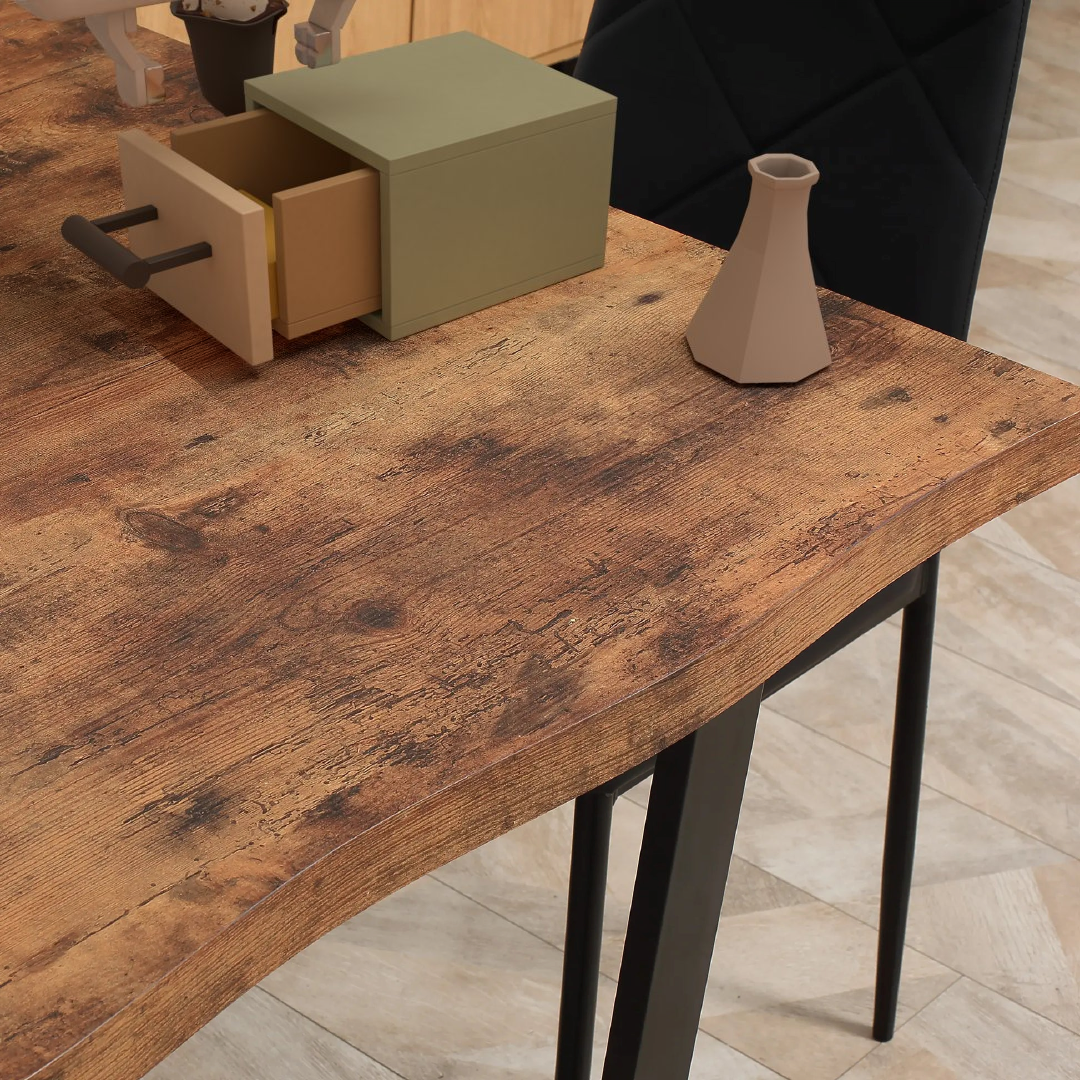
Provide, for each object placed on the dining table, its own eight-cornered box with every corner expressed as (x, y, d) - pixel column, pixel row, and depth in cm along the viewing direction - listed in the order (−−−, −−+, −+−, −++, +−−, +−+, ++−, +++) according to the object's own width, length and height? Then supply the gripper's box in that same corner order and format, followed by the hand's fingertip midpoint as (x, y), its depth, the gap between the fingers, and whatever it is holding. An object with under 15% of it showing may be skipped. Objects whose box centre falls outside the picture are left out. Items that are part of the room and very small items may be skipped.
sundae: (267, 201, 90) (251, -65, 81) (165, 181, 92) (138, -82, 83) (316, 160, 95) (306, -94, 87) (219, 142, 97) (199, -110, 88)
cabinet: (391, 342, 78) (389, 160, 72) (254, 251, 85) (243, 80, 79) (604, 266, 86) (617, 97, 80) (462, 189, 93) (465, 29, 87)
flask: (732, 400, 74) (758, 207, 69) (659, 332, 80) (679, 147, 74) (856, 373, 77) (892, 185, 71) (778, 309, 82) (806, 128, 76)
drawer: (164, 397, 71) (146, 240, 66) (48, 302, 77) (25, 154, 73) (474, 290, 81) (478, 147, 76) (348, 214, 87) (344, 78, 83)
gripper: (374, -275, 71) (375, 25, 80) (-55, -244, 60) (-3, 102, 68) (459, -250, 68) (451, 62, 76) (19, -212, 56) (65, 150, 65)
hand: (233, 82), depth 72 cm, fingers open, 8 cm apart
